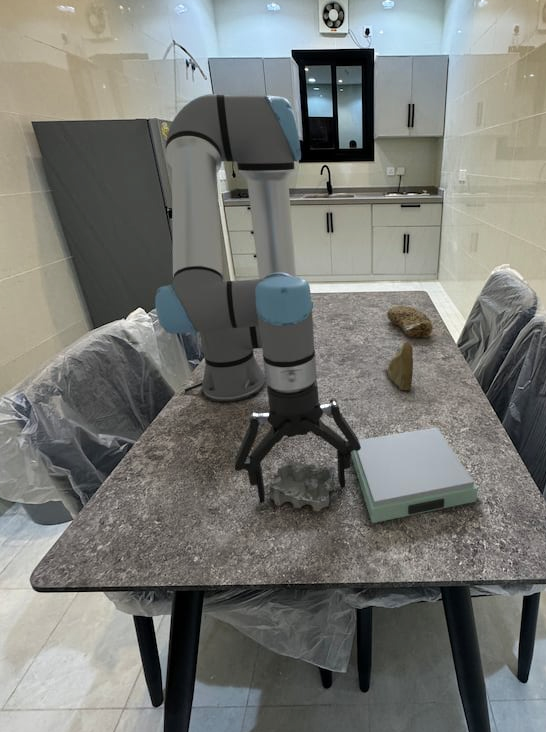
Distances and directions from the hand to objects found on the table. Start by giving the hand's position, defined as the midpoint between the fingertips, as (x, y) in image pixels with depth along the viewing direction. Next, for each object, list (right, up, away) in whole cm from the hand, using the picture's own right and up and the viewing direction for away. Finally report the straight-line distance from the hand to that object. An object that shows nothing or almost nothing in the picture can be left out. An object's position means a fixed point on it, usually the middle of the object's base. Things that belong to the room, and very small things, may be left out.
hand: (302, 489), depth 66 cm
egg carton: (0, -1, +1) cm, 1 cm away
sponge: (+27, +29, +67) cm, 78 cm away
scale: (+19, +1, +4) cm, 19 cm away
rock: (+20, +14, +35) cm, 43 cm away
